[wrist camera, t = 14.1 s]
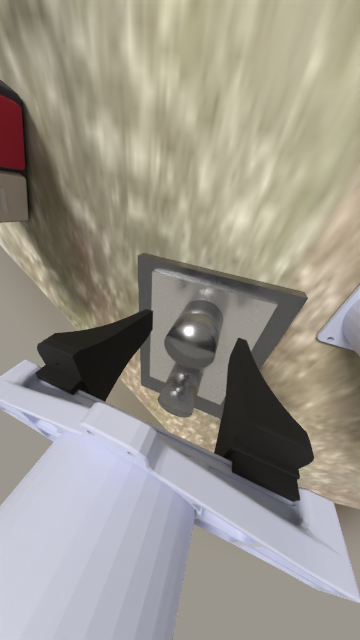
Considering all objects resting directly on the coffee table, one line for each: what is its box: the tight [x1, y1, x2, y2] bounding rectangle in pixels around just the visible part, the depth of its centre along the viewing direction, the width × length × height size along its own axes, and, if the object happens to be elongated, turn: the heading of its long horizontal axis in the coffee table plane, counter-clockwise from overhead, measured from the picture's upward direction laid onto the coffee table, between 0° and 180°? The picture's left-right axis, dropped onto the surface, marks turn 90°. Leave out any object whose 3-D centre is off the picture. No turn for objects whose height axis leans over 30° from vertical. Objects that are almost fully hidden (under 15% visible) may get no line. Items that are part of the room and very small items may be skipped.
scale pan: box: [150, 270, 278, 405], centre depth 21 cm, size 12×18×1 cm, turn 172°
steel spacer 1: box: [164, 300, 223, 369], centre depth 15 cm, size 4×4×5 cm
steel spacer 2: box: [158, 363, 202, 417], centre depth 21 cm, size 4×4×5 cm
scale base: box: [138, 253, 308, 419], centre depth 23 cm, size 16×24×2 cm, turn 172°
